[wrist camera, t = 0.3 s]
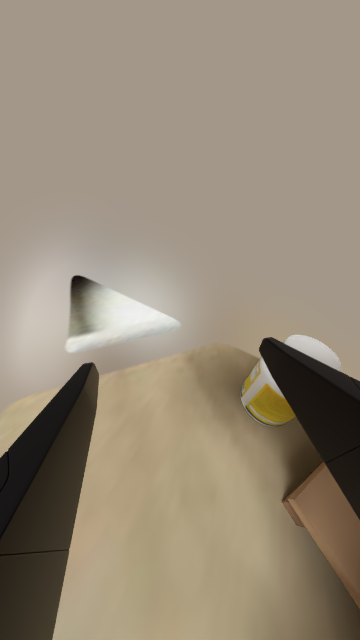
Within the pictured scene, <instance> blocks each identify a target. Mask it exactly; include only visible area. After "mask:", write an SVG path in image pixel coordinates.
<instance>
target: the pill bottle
mask: <svg viewBox="0 0 360 640" xmlns="http://www.w3.org/2000/svg"><path fill="white" fill-rule="evenodd" d="M284 344H286V345H288V346H290V347H292V348H294V349H296V350H298V351H300V352H302V353H304V354H306V355H308V356H310V357H312V358H314V359H316V360H318V361H320V362H322V363H324V364H326V365H328V366H330V367H332V368H334V369H336V370H338V371H340V372H341V363H340V361H339V359H338V357H337V356H336V354H335V353H334V352H333V351H332V350H331V349H330V348H328V347H327V346H326V345H325V344H323V343H322V342H320V341H318V340H316V339H313V338H311V337H308V336H304V335H293V336H290V337H288V338H287V339H286V340H285V341H284ZM240 396H241V401H242V404H243V406H244V408H245V409H246V411H247V412H248V414H249V415H250V416H251V417H252V418H253V419H255V420H256V421H257V422H259V423H261V424H263V425H266V426H270V427H277V426H280V425H283V424H284V423H286V422H288V421H290V420H291V419H293V418H295V417H296V415H295V414H294V412H293V411H292V409H291V407H290V406H289V404H288V402H287V401H286V399H285V397H284V396H283V394H282V393H281V391H280V389H279V388H278V386H277V384H276V383H275V381H274V379H273V378H272V376H271V374H270V372H269V370H268V368H267V366H266V364H265V362H264V360H263V358H262V357H261V358H260V360H259V361H258V363H257V364H256V366H255V367H254V368H253V370H252V371H251V373H250V374H249V376H248V377H247V379H246V380H245V382H244V383H243V385H242V387H241V392H240Z"/></svg>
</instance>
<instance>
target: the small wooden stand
mask: <svg viewBox="0 0 360 640" xmlns="http://www.w3.org/2000/svg"><path fill="white" fill-rule="evenodd" d="M282 503H283V504H284V506H285V508H286V509H287V511H288V512H289V514H290V515H291V517H292V519H293V520H294V522H295V523H296V525H298V526H302V527H306V528H307V530H308V531H309V533H310V534H311V536H312V537H313V539H314V541H315V542H316V544H317V545H318V547H319V548H320V550H321V551H322V553H323V554H324V556H325V557H326V559H327V560H328V562H329V563H330V565H331V566H332V568H333V569H334V571H335V572H336V574H337V575H338V577H339V579H340V580H341V582H342V583H343V585H344V586H345V588H346V589H347V591H348V592H349V594H350V595H351V597H352V598H353V600H354V601H355V603H356V604H357V606H358V607H359V609H360V520H359V519H358V517H357V515H356V514H355V512H354V511H353V509H352V507H351V506H350V504H349V502H348V501H347V499H346V497H345V496H344V494H343V493H342V491H341V489H340V488H339V486H338V484H337V483H336V481H335V479H334V478H333V476H332V475H331V473H330V471H329V470H328V468H327V466H326V465H325V463H324V461H323V462H322V463H321V464H320V465H319V466H318V467H317V468H316V469H315V470H314V471H313V472H312V474H311V475H310V476H309V477H308V478H307V479H306V480H305V481H304V482H303V483H302V484H301V485H300V486H299V487H298V488H297V489H296V490H295V491H292V492H291V493H290V494H289V495H288V496H287V497H286V498H285V499H284V500H283V501H282Z"/></svg>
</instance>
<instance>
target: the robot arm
mask: <svg viewBox="0 0 360 640" xmlns="http://www.w3.org/2000/svg"><path fill="white" fill-rule="evenodd" d="M259 351H260V354H261V356H262V358H263V360H264V362H265V364H266V366H267V368H268V370H269V372H270V374H271V376H272V378H273V379H274V381H275V383H276V384H277V386H278V388H279V389H280V391H281V393H282V394H283V396H284V397H285V399H286V401H287V402H288V404H289V406H290V407H291V409H292V411H293V412H294V414H295V415H296V417H297V419H298V420H299V422H300V424H301V425H302V427H303V429H304V430H305V432H306V433H307V435H308V437H309V438H310V440H311V442H312V443H313V445H314V447H315V448H316V450H317V451H318V453H319V455H320V456H321V458H322V460H323V461H324V463H325V465H326V466H327V468H328V470H329V471H330V473H331V475H332V476H333V478H334V479H335V481H336V483H337V484H338V486H339V488H340V489H341V491H342V493H343V494H344V496H345V497H346V499H347V501H348V502H349V504H350V506H351V507H352V509H353V511H354V512H355V514H356V515H357V517H358V519H359V520H360V381H358V380H356V379H354V378H352V377H349V376H348V375H346V374H344V373H342V372H340V371H338V370H336V369H334V368H332V367H330V366H328V365H326V364H324V363H322V362H320V361H318V360H316V359H314V358H312V357H310V356H308V355H306V354H304V353H302V352H300V351H298V350H296V349H294V348H292V347H290V346H288V345H286V344H284V343H282V342H280V341H278V340H276V339H274V338H272V337H268V338H264V339H263V341H262V343H261V345H260V347H259ZM98 383H99V373H98V371H97V369H96V366H95V364H94V363H93V362H91V363H85V364H83V365H82V366H81V367H80V368H79V369H78V370H77V372H76V373H75V374H74V375H73V376H72V377H71V379H70V380H69V381H68V382H67V383H66V384H65V385H64V386H63V387H62V389H61V390H60V391H59V392H58V393H57V394H56V395H55V397H54V398H53V399H52V400H51V401H50V402H49V403H48V405H47V406H46V407H45V408H44V409H43V410H42V411H41V412H40V414H39V415H38V416H37V417H36V418H35V419H34V420H33V422H32V423H31V424H30V425H29V426H28V427H27V428H26V430H25V431H24V432H23V433H22V434H21V435H20V436H19V438H18V439H17V440H16V441H15V442H14V443H13V444H12V445H11V447H10V448H9V449H8V451H7V452H5V453H4V454H3V456H2V457H1V458H0V640H52V638H53V633H54V628H55V623H56V617H57V612H58V607H59V602H60V597H61V591H62V586H63V581H64V576H65V571H66V566H67V560H68V555H69V548H70V544H71V539H72V534H73V529H74V524H75V518H76V513H77V508H78V503H79V498H80V493H81V487H82V482H83V477H84V472H85V467H86V462H87V456H88V451H89V446H90V441H91V436H92V431H93V425H94V420H95V415H96V408H97V396H98Z"/></svg>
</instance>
